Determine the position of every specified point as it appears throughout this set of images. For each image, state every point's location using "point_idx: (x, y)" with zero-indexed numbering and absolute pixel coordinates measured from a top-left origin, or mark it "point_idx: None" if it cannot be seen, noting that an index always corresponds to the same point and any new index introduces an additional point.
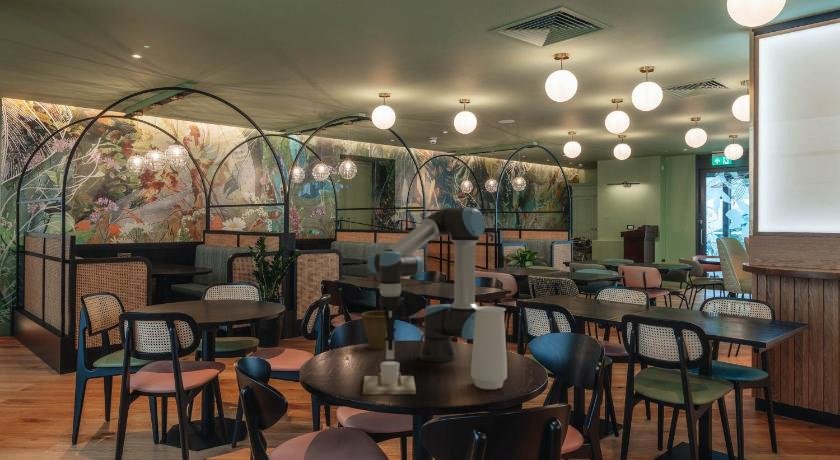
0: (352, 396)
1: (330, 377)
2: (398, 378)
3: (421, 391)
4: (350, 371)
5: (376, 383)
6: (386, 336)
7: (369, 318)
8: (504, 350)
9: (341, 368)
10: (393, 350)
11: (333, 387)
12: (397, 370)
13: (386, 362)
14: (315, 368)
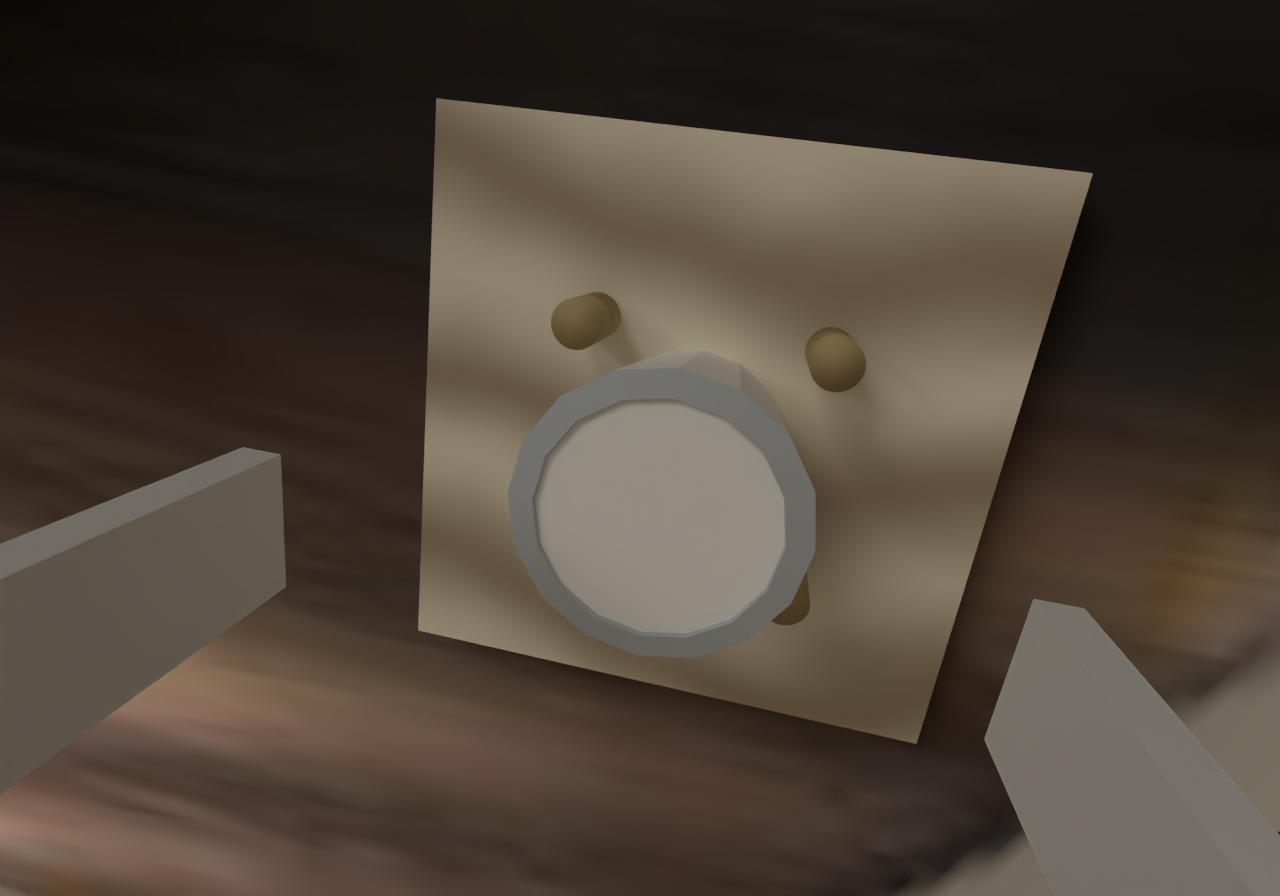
0: (946, 804)
1: (350, 839)
2: (848, 380)
3: (970, 79)
4: None
5: None
6: (15, 778)
7: None
8: None
9: None
10: (1194, 760)
11: (637, 877)
12: (760, 397)
13: (592, 560)
14: (112, 880)
